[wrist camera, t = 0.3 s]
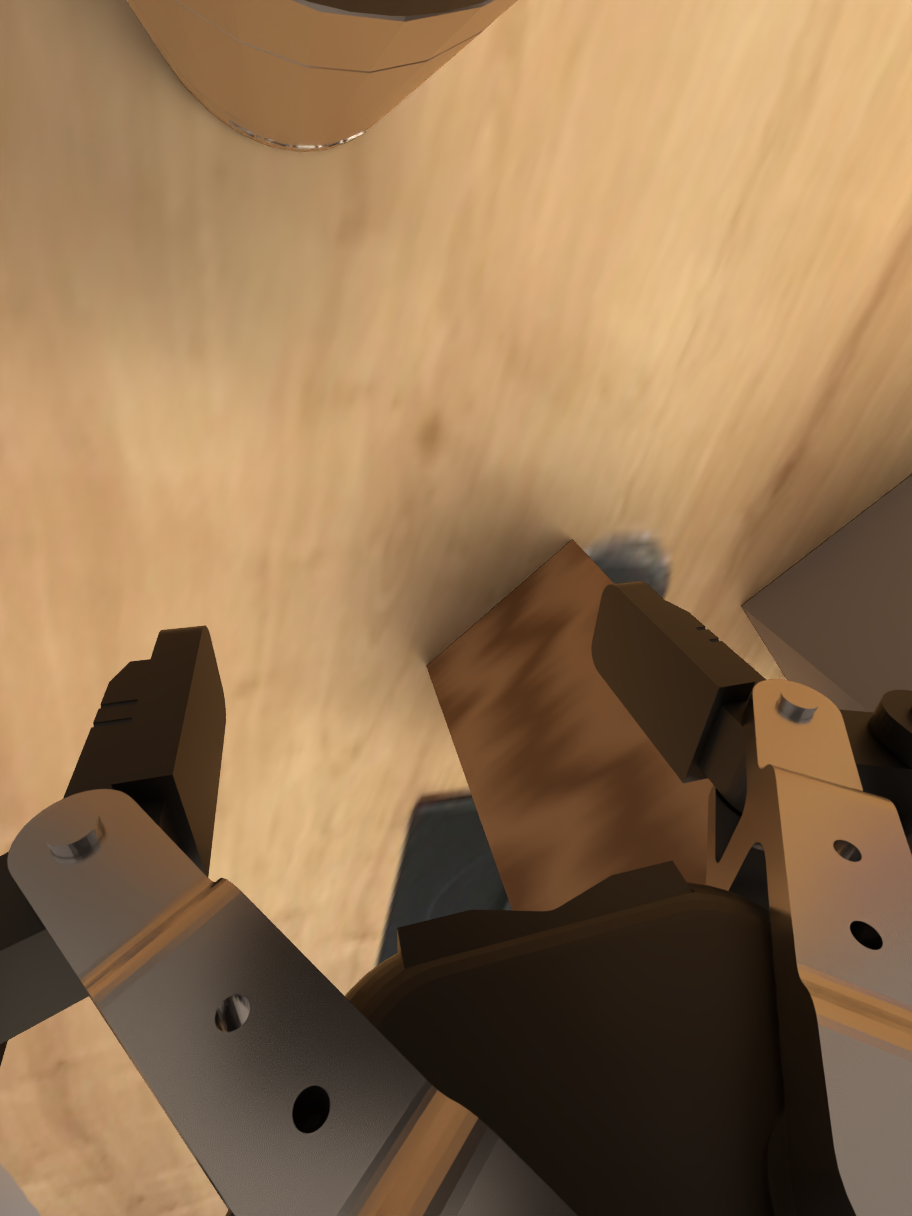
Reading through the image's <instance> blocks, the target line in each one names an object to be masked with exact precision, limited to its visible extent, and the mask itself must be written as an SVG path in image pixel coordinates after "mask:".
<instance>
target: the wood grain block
mask: <svg viewBox="0 0 912 1216" xmlns="http://www.w3.org/2000/svg"><path fill="white" fill-rule="evenodd" d="M610 584H614V583H613V582H612V581H611V580H610V579H609V578H608V576H607V575H606V574H605V573H604V572H603V571H602V570H601V569H600V568H599V567H598V566H597V565H596V564H595V563H594V562H593V561H592V559H591V558H590V557H589V556H588V555H587V554H586V553H585V552H584V551H583V550H582V549H581V548H580V547H579V546H578V545H577V544H576V542H575V541H574V540H572V541H570V542H569V543H568V544H567V545H566V546H565V547H563V548H562V549H561V550H560V551H559V552H558V553H557V554H555V555H554V556H553V557H552V558H551V559H550V560H548V561H547V562H546V563H545V564H544V565H543V566H542V567H540V568H539V569H538V570H537V571H536V572H535V573H533V574H532V575H531V576H530V577H529V578H528V579H527V580H525V581H524V582H523V583H522V584H521V585H520V586H518V587H517V588H516V589H515V590H514V591H513V592H512V593H510V594H509V595H508V596H507V597H506V598H505V599H503V600H502V601H501V602H500V603H499V604H498V605H496V606H495V607H494V608H493V609H492V610H491V611H490V612H488V613H487V614H486V615H485V616H484V617H483V618H481V619H480V620H479V621H478V622H477V623H476V624H475V625H473V626H472V627H471V628H470V629H469V630H468V631H466V632H465V633H464V634H463V635H462V636H461V637H460V638H458V639H457V640H456V641H455V642H454V643H453V644H451V645H450V646H449V647H448V648H447V649H446V650H444V651H443V652H442V653H441V654H440V655H439V656H438V657H436V658H435V659H434V660H433V661H432V662H431V663H429V664H428V665H427V669H428V672H429V675H430V677H431V680H432V683H433V686H434V689H435V692H436V695H437V697H438V700H439V703H440V706H441V709H442V712H443V714H444V717H445V720H446V723H447V726H448V729H449V731H450V734H451V737H452V740H453V743H454V746H455V749H456V751H457V754H458V757H459V760H460V763H461V766H462V768H463V771H464V774H465V777H466V780H467V783H468V785H469V788H470V791H471V794H472V797H473V800H474V802H475V805H476V808H477V811H478V814H479V817H480V820H481V822H482V825H483V828H484V831H485V834H486V837H487V839H488V842H489V845H490V848H491V851H492V854H493V856H494V859H495V862H496V865H497V868H498V871H499V873H500V876H501V879H502V882H503V885H504V888H505V891H506V893H507V896H508V899H509V902H510V905H511V908H512V910H513V911H550V910H554V909H556V908H558V907H560V906H561V905H563V904H565V903H566V902H568V901H570V900H571V899H573V898H575V897H576V896H578V895H580V894H581V893H583V892H585V891H586V890H588V889H590V888H591V887H593V886H594V885H596V884H598V883H599V882H601V881H603V880H604V879H606V878H608V877H609V876H611V875H615V874H619V873H623V872H627V871H631V870H635V869H639V868H643V867H647V866H651V865H656V864H660V863H664V862H668V861H673V862H674V864H675V865H676V867H677V868H678V870H679V871H680V873H681V874H682V876H683V877H684V879H685V881H686V882H691V883H697V884H703V885H705V884H706V875H707V834H708V798H709V794H710V791H711V789H712V786H713V784H712V782H711V781H710V780H709V779H708V778H707V779H702V780H698V781H693V782H688V783H682V781H681V780H680V779H679V777H678V776H677V775H676V773H675V772H674V771H673V769H672V768H671V767H670V766H669V764H668V763H667V762H666V760H665V759H664V758H663V756H662V755H661V754H660V752H659V751H658V750H657V749H656V747H655V746H654V745H653V743H652V742H651V741H650V739H649V738H648V737H647V735H646V734H645V733H644V732H643V730H642V729H641V728H640V726H639V725H638V724H637V722H636V721H635V720H634V718H633V717H632V716H631V715H630V713H629V712H628V711H627V709H626V708H625V707H624V705H623V704H622V703H621V701H620V700H619V699H618V697H617V696H616V695H615V694H614V692H613V691H612V690H611V688H610V687H609V686H608V684H607V683H606V682H605V680H604V679H603V678H602V677H601V675H600V674H599V673H598V671H597V670H596V668H595V665H594V662H593V659H592V652H591V646H592V639H593V635H594V630H595V625H596V620H597V615H598V610H599V606H600V601H601V596H602V593H603V590H604V589H605V587H606V586H607V585H610Z"/></svg>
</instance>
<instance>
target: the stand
mask: <svg viewBox="0 0 912 1216" xmlns="http://www.w3.org/2000/svg"><path fill="white" fill-rule="evenodd" d="M741 607H742V608H743V610H744V612H745V613H746V615H747V616H748V618H749V620H750V621H751V623H752V624H753V626H754V628H755V629H756V631H757V632H758V634H759V635H760V637H761V639H762V640H763V642H764V643H765V645H766V647H767V648H768V650H769V651H770V653H771V655H772V656H773V658H774V659H775V661H776V663H777V664H778V666H779V667H780V669H781V671H782V672H783V674H784V675H785V677H786V679H787V680H788V681H793V682H796V683H800V684H802V685H805V686H808V687H810V688H812V689H814V690H816V691H818V692H819V693H821V694H823V695H824V696H825V697H827V698H828V699H829V700H831V701H832V702H833V703H834V704H835V705H836V706H837V708H838V709H840V710H852V711H863V712H874V710H875V709H876V707H877V705H878V704H879V702H880V700H881V698H882V697H883V695H884V694H885V693H887V692H889V691H892V690H910V691H912V475H911V476H909V477H908V478H907V479H906V480H904V481H903V482H902V483H900V484H899V485H898V486H896V487H895V488H894V489H893V490H891V491H890V492H889V493H887V494H886V495H885V496H883V497H882V498H881V499H880V500H878V501H877V502H876V503H874V504H873V505H872V506H871V507H869V508H868V509H867V510H865V511H864V512H863V513H861V514H860V515H859V516H858V517H856V518H855V519H854V520H852V521H851V522H850V523H848V524H847V525H846V526H845V527H843V528H842V529H841V530H839V531H838V532H837V533H835V534H834V535H833V536H832V537H830V538H829V539H828V540H826V541H825V542H824V543H822V544H821V545H820V546H819V547H817V548H816V549H815V550H813V551H812V552H811V553H810V554H808V555H807V556H806V557H804V558H803V559H802V560H800V561H799V562H798V563H797V564H795V565H794V566H793V567H791V568H790V569H789V570H787V571H786V572H785V573H784V574H782V575H781V576H780V577H778V578H777V579H776V580H774V581H773V582H772V583H771V584H769V585H768V586H767V587H765V588H764V589H763V590H761V591H760V592H759V593H758V594H756V595H755V596H754V597H752V598H751V599H750V600H749V601H747V602H746V603H745V604H743V605H742V606H741Z"/></svg>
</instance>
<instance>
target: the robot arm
mask: <svg viewBox="0 0 912 1216" xmlns="http://www.w3.org/2000/svg"><path fill="white" fill-rule="evenodd" d="M126 1H127V2H128V4H129V5H130V7H131V8H132V10H133V12H134V13H135V15H136V17H137V18H138V20H139V21H140V23H141V24H142V26H143V27H144V29H145V30H146V32H147V33H148V35H149V36H150V38H151V39H152V41H153V42H154V44H155V45H156V47H157V48H158V50H159V51H160V53H161V54H162V55H163V57H164V58H165V59H166V61H167V62H168V64H169V65H170V66H171V68H172V69H173V71H174V72H175V73H176V75H177V76H178V77H179V79H180V80H181V82H182V83H183V84H184V85H185V87H186V88H187V89H188V90H189V91H190V92H191V93H192V94H193V95H194V96H195V97H196V98H197V99H198V100H199V101H200V102H201V103H202V104H203V105H204V106H205V107H206V108H207V109H208V110H209V111H210V112H211V113H212V114H214V115H215V116H217V117H218V118H219V119H221V120H222V121H224V122H225V123H226V124H228V125H229V126H231V127H232V128H234V129H235V130H236V131H238V132H239V133H241V134H243V135H245V136H247V137H249V138H252V139H254V140H256V141H258V142H261V143H263V144H265V145H268V146H270V147H275V148H280V149H285V150H291V151H296V152H305V151H319V150H327V149H330V148H333V147H335V146H338V145H341V144H343V143H346V142H349V141H351V140H353V139H354V138H356V137H358V136H360V135H362V134H364V133H365V132H366V130H367V129H368V128H369V127H371V126H372V125H373V124H375V123H376V122H377V121H378V120H379V119H381V118H382V117H383V116H384V115H386V114H387V113H388V112H389V111H391V110H392V109H393V108H394V107H395V106H396V105H398V104H399V103H400V102H401V101H402V100H403V99H405V98H406V97H407V96H408V95H409V94H410V93H412V92H413V91H414V90H415V89H416V88H417V87H419V86H420V85H421V84H422V83H423V82H424V81H425V80H427V79H428V78H429V77H430V76H431V75H432V74H434V73H435V72H436V71H437V70H438V69H439V68H441V67H442V66H443V65H444V64H445V63H446V62H448V61H449V60H450V59H451V58H452V57H453V56H454V55H456V54H457V53H458V52H459V51H460V50H461V49H463V48H464V47H465V46H466V45H467V44H468V43H470V42H471V41H472V40H473V39H474V38H475V37H477V36H478V35H479V34H480V33H481V32H482V31H483V30H484V29H485V28H486V27H488V26H489V25H490V24H491V23H492V22H493V21H494V20H495V19H496V18H498V17H499V16H500V15H501V14H502V13H503V12H505V11H506V10H507V9H508V8H509V7H510V6H511V5H513V4H514V3H515V2H516V1H517V0H126ZM591 652H592V659H593V662H594V665H595V668H596V670H597V671H598V673H599V674H600V675H601V677H602V678H603V679H604V680H605V682H606V683H607V684H608V686H609V687H610V688H611V690H612V691H613V692H614V694H615V695H616V696H617V697H618V699H619V700H620V701H621V703H622V704H623V705H624V707H625V708H626V709H627V711H628V712H629V713H630V715H631V716H632V717H633V718H634V720H635V721H636V722H637V724H638V725H639V726H640V728H641V729H642V730H643V732H644V733H645V734H646V735H647V737H648V738H649V739H650V741H651V742H652V743H653V745H654V746H655V747H656V749H657V750H658V751H659V752H660V754H661V755H662V756H663V758H664V759H665V760H666V762H667V763H668V764H669V766H670V767H671V768H672V769H673V771H674V772H675V773H676V775H677V776H678V777H679V779H680V780H681V781H682V783H688V782H693V781H698V780H702V779H707V778H708V779H709V780H710V781H711V782H712V784H713V786H712V789H711V791H710V794H709V798H708V834H707V875H706V884H705V885H703V884H697V883H691V882H686V881H685V879H684V877H683V876H682V874H681V873H680V871H679V870H678V868H677V867H676V865H675V864H674V862H673V861H668V862H664V863H660V864H656V865H651V866H647V867H643V868H639V869H635V870H631V871H627V872H623V873H619V874H615V875H611V876H609V877H608V878H606V879H604V880H603V881H601V882H599V883H598V884H596V885H594V886H593V887H591V888H590V889H588V890H586V891H585V892H583V893H581V894H580V895H578V896H576V897H575V898H573V899H571V900H570V901H568V902H566V903H565V904H563V905H561V906H560V907H558V908H556V909H554V910H550V911H509V910H468V911H464V912H460V913H456V914H452V915H448V916H444V917H440V918H436V919H432V920H428V921H424V922H419V923H415V924H411V925H407V926H403V927H399V928H397V939H398V953H397V954H395V955H393V956H392V957H390V958H388V959H386V960H385V961H383V962H382V963H380V964H379V965H378V966H377V967H375V968H374V969H373V970H371V971H370V972H369V973H367V974H366V975H365V976H364V977H363V978H362V979H361V980H360V981H359V982H358V983H357V984H356V985H355V986H354V987H353V988H352V989H351V990H350V991H349V992H348V993H347V994H346V996H344V995H343V994H342V993H341V992H340V991H339V990H338V989H337V988H336V987H335V986H334V985H333V984H332V983H331V982H330V981H329V980H328V979H327V978H326V977H325V976H324V975H323V974H322V973H321V972H320V971H319V970H318V969H317V968H316V967H315V966H314V965H313V964H312V963H311V962H310V961H309V960H308V959H307V958H306V957H305V956H304V955H303V954H302V953H301V951H300V950H299V949H298V948H297V947H296V946H295V945H294V944H293V943H292V942H291V941H290V940H289V939H288V938H287V937H286V936H285V935H284V934H283V933H282V932H281V931H280V930H279V929H278V928H277V927H276V926H275V925H274V924H273V923H272V922H271V921H270V920H269V919H268V918H267V917H266V916H265V915H264V914H263V913H262V912H261V911H260V910H259V909H258V908H257V907H256V906H255V905H254V904H253V903H252V902H251V901H250V900H249V899H248V898H247V897H246V896H245V895H244V894H243V893H242V892H241V891H240V890H239V889H238V888H237V887H236V886H235V885H234V884H233V883H231V882H230V881H228V880H227V879H224V878H220V879H219V880H217V881H216V882H213V881H211V880H210V879H209V878H208V875H209V866H210V857H211V848H212V839H213V831H214V822H215V813H216V804H217V795H218V787H219V778H220V769H221V760H222V751H223V743H224V734H225V725H226V708H225V699H224V692H223V688H222V684H221V679H220V675H219V671H218V666H217V662H216V658H215V654H214V649H213V645H212V641H211V637H210V633H209V630H208V628H207V627H206V626H197V627H187V628H178V629H168V630H161V631H160V632H159V635H158V638H157V641H156V644H155V647H154V650H153V653H152V656H151V659H149V660H140V661H132V662H129V663H128V664H127V665H126V666H125V667H124V668H123V669H122V670H121V671H120V672H119V673H118V674H117V675H116V676H115V677H114V678H113V679H112V680H111V681H110V682H109V684H108V687H107V689H106V692H105V694H104V697H103V699H102V702H101V708H100V709H99V710H98V712H97V715H96V717H95V720H94V722H93V724H94V727H92V728H91V730H90V732H89V735H88V737H87V740H86V742H85V745H84V747H83V750H82V752H81V755H80V757H79V760H78V762H77V765H76V768H75V770H74V773H73V775H72V778H71V780H70V783H69V785H68V788H67V790H66V793H65V795H64V798H63V799H62V800H60V801H58V802H56V803H54V804H52V805H51V806H49V807H47V808H46V809H44V810H43V811H41V812H40V813H39V814H37V815H36V816H35V817H34V818H32V819H31V820H30V821H29V822H28V823H27V824H26V825H25V826H24V827H23V829H22V830H21V831H20V832H19V833H18V835H17V836H16V838H15V840H14V841H13V843H12V845H11V848H10V850H9V852H7V853H5V854H4V855H2V856H0V1066H1V1062H2V1059H3V1055H4V1052H5V1048H6V1045H7V1041H8V1040H9V1039H11V1038H13V1037H15V1036H16V1035H18V1034H20V1033H22V1032H24V1031H26V1030H27V1029H29V1028H31V1027H33V1026H35V1025H37V1024H38V1023H40V1022H42V1021H44V1020H46V1019H48V1018H49V1017H51V1016H53V1015H55V1014H57V1013H59V1012H60V1011H62V1010H64V1009H66V1008H68V1007H70V1006H71V1005H73V1004H75V1003H77V1002H79V1001H81V1000H82V999H84V998H86V997H88V996H89V997H90V998H91V1000H92V1001H93V1003H94V1004H95V1006H96V1007H97V1009H98V1010H99V1012H100V1014H101V1015H102V1017H103V1018H104V1020H105V1021H106V1023H107V1024H108V1026H109V1027H110V1029H111V1030H112V1032H113V1033H114V1035H115V1036H116V1038H117V1040H118V1041H119V1043H120V1044H121V1046H122V1047H123V1049H124V1050H125V1052H126V1053H127V1055H128V1056H129V1058H130V1059H131V1061H132V1062H133V1064H134V1066H135V1067H136V1069H137V1070H138V1072H139V1073H140V1075H141V1076H142V1078H143V1079H144V1081H145V1082H146V1084H147V1085H148V1087H149V1088H150V1090H151V1092H152V1093H153V1095H154V1096H155V1098H156V1099H157V1101H158V1102H159V1104H160V1105H161V1107H162V1108H163V1110H164V1111H165V1113H166V1115H167V1116H168V1118H169V1119H170V1121H171V1122H172V1124H173V1125H174V1127H175V1128H176V1130H177V1132H178V1133H179V1135H180V1136H181V1138H182V1139H183V1141H184V1142H185V1144H186V1145H187V1147H188V1148H189V1150H190V1151H191V1153H192V1155H193V1156H194V1158H195V1159H196V1161H197V1162H198V1164H199V1165H200V1167H201V1168H202V1170H203V1171H204V1173H205V1174H206V1176H207V1178H208V1179H209V1181H210V1182H211V1184H212V1185H213V1187H214V1188H215V1190H216V1191H217V1193H218V1194H219V1196H220V1197H221V1199H222V1200H223V1202H224V1203H225V1205H226V1207H227V1208H228V1212H227V1214H226V1216H912V691H910V690H892V691H889V692H887V693H885V694H884V695H883V697H882V698H881V700H880V702H879V704H878V705H877V707H876V709H875V710H874V712H863V711H852V710H840V709H838V708H837V706H836V705H835V704H834V703H833V702H832V701H831V700H829V699H828V698H827V697H825V696H824V695H823V694H821V693H819V692H818V691H816V690H814V689H812V688H810V687H808V686H805V685H802V684H800V683H796V682H793V681H788V680H781V679H769V680H766V679H765V678H764V677H762V676H761V675H760V674H759V673H758V672H757V671H756V670H754V669H753V668H752V667H751V666H750V665H749V664H748V663H746V662H745V661H744V660H743V659H742V658H741V657H739V656H738V655H737V654H736V653H735V652H734V651H733V650H731V649H730V648H729V647H728V646H727V645H726V644H725V643H723V642H722V641H719V640H718V637H717V636H715V635H714V634H713V633H712V632H711V631H710V630H709V629H707V630H706V629H705V626H704V625H703V624H702V623H701V622H699V621H698V620H697V619H696V618H695V617H694V616H693V615H691V614H690V613H689V612H687V611H685V610H683V609H681V608H679V607H678V606H676V605H674V604H672V603H670V602H668V601H665V600H664V599H663V598H662V597H661V596H660V595H659V594H657V593H656V592H655V591H654V590H653V589H652V588H651V587H650V586H649V585H647V584H646V583H645V582H642V581H637V582H628V583H618V584H610V585H607V586H606V587H605V589H604V590H603V593H602V596H601V601H600V606H599V610H598V615H597V620H596V625H595V630H594V635H593V639H592V646H591Z"/></svg>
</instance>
